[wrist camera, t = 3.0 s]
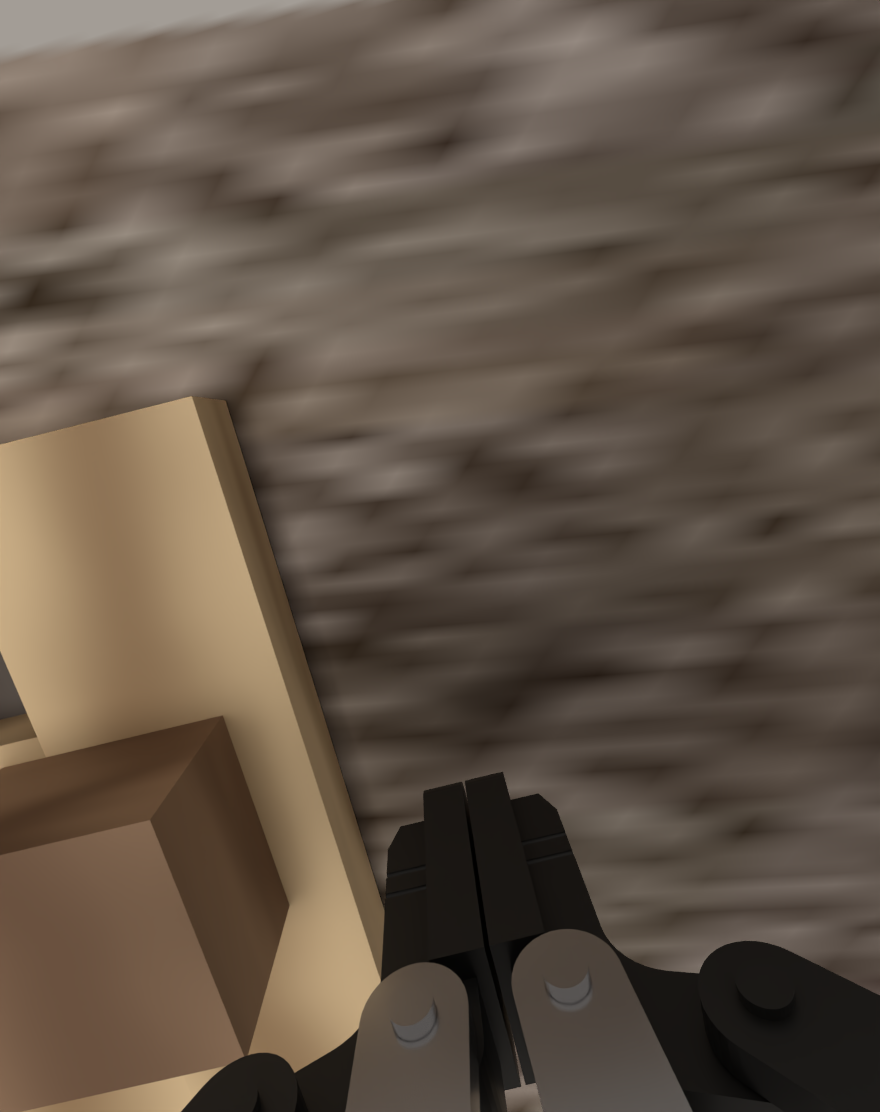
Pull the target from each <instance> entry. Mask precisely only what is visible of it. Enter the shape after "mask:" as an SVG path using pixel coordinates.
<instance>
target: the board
mask: <svg viewBox="0 0 880 1112" xmlns="http://www.w3.org/2000/svg"><path fill="white" fill-rule="evenodd" d="M222 715H223V718H224V720H225V723H226V726H227V729H228V732H229V735H230V737H231V740H232V743H233V746H234V749H235V752H236V754H237V757H238V760H239V763H240V766H241V769H242V771H243V774H244V777H245V780H246V783H247V786H248V788H249V791H250V794H251V797H252V800H253V803H254V805H255V808H256V811H257V814H258V817H259V820H260V823H261V825H262V828H263V831H264V834H265V837H266V840H267V842H268V845H269V848H270V851H271V854H272V857H273V859H274V862H275V865H276V868H277V871H278V874H279V876H280V879H281V882H282V885H283V888H284V891H285V893H286V896H287V899H288V902H289V905H290V906H289V910H288V913H287V917H286V921H285V924H284V928H283V931H282V935H281V938H280V942H279V946H278V949H277V953H276V956H275V960H274V964H273V967H272V971H271V974H270V978H269V982H268V985H267V989H266V992H265V996H264V999H263V1003H262V1007H261V1010H260V1014H259V1017H258V1021H257V1025H256V1028H255V1032H254V1035H253V1039H252V1042H251V1046H250V1050H249V1053H248V1055H250V1054H255V1053H272V1054H276V1055H278V1056H280V1057H282V1058H284V1059H285V1060H286V1061H287V1062H288V1063H289V1064H290V1066H291V1067H292V1069H293V1071H294V1073H295V1072H297V1071H298V1070H300V1069H302V1068H303V1067H305V1066H307V1065H309V1064H310V1063H312V1062H314V1061H315V1060H317V1059H319V1058H320V1057H322V1056H324V1055H325V1054H327V1053H329V1052H331V1051H332V1050H334V1049H335V1048H337V1047H338V1046H340V1045H341V1044H342V1043H344V1042H345V1041H346V1040H347V1039H348V1038H350V1037H351V1036H352V1035H353V1034H354V1033H355V1032H356V1030H357V1029H358V1028H359V1023H360V1018H361V1014H362V1011H363V1009H364V1006H365V1004H366V1002H367V1000H368V998H369V997H370V995H371V993H372V992H373V991H374V990H375V988H376V987H377V986H378V985H379V984H380V982H381V968H382V950H383V932H384V914H385V911H384V908H383V904H382V901H381V898H380V895H379V892H378V888H377V885H376V882H375V879H374V875H373V872H372V869H371V866H370V863H369V859H368V856H367V853H366V850H365V847H364V843H363V840H362V837H361V834H360V831H359V827H358V824H357V821H356V818H355V815H354V811H353V808H352V805H351V802H350V798H349V795H348V792H347V789H346V786H345V782H344V779H343V776H342V773H341V770H340V766H339V763H338V760H337V757H336V754H335V750H334V747H333V744H332V741H331V738H330V734H329V731H328V728H327V725H326V721H325V718H324V715H323V712H322V709H321V705H320V702H319V699H318V696H317V693H316V689H315V686H314V683H313V680H312V677H311V673H310V670H309V667H308V664H307V661H306V657H305V654H304V651H303V648H302V644H301V641H300V638H299V635H298V632H297V628H296V625H295V622H294V619H293V616H292V612H291V609H290V606H289V603H288V600H287V596H286V593H285V590H284V587H283V583H282V580H281V577H280V574H279V571H278V567H277V564H276V561H275V558H274V555H273V551H272V548H271V545H270V542H269V539H268V535H267V532H266V529H265V526H264V523H263V519H262V516H261V513H260V510H259V506H258V503H257V500H256V497H255V494H254V490H253V487H252V484H251V481H250V478H249V474H248V471H247V468H246V465H245V462H244V458H243V455H242V452H241V449H240V446H239V442H238V439H237V436H236V433H235V429H234V426H233V423H232V420H231V417H230V413H229V410H228V407H227V404H226V401H224V400H217V399H209V398H201V397H194V396H191V397H187V398H183V399H179V400H175V401H171V402H167V403H163V404H159V405H155V406H151V407H147V408H143V409H139V410H135V411H131V412H127V413H123V414H119V415H115V416H112V417H108V418H104V419H100V420H96V421H92V422H88V423H84V424H80V425H76V426H72V427H68V428H64V429H60V430H56V431H52V432H48V433H44V434H40V435H36V436H32V437H28V438H24V439H20V440H16V441H12V442H8V443H5V444H1V445H0V769H1V768H4V767H8V766H12V765H16V764H21V763H25V762H29V761H33V760H37V759H42V758H46V757H50V756H54V755H58V754H63V753H67V752H71V751H75V750H79V749H84V748H88V747H92V746H96V745H100V744H104V743H109V742H113V741H117V740H121V739H125V738H130V737H134V736H138V735H142V734H146V733H151V732H155V731H159V730H163V729H167V728H172V727H176V726H180V725H184V724H188V723H192V722H197V721H201V720H205V719H209V718H213V717H218V716H222ZM224 1067H226V1066H224ZM224 1067H219V1068H215V1069H210V1070H206V1071H201V1072H197V1073H192V1074H188V1075H183V1076H179V1077H174V1078H170V1079H166V1080H161V1081H157V1082H152V1083H148V1084H143V1085H139V1086H134V1087H130V1088H125V1089H121V1090H116V1091H112V1092H107V1093H103V1094H98V1095H94V1096H90V1097H85V1098H81V1099H76V1100H72V1101H67V1102H63V1103H58V1104H54V1105H49V1106H45V1107H40V1108H36V1109H31V1110H27V1111H22V1112H181V1111H182V1110H183V1109H184V1108H185V1106H186V1105H187V1104H188V1103H189V1102H190V1101H191V1100H192V1098H193V1097H194V1096H195V1095H196V1094H197V1093H198V1091H199V1090H200V1089H201V1088H202V1087H203V1086H204V1085H205V1084H206V1083H207V1082H208V1081H209V1080H210V1079H211V1078H212V1077H213V1076H214V1075H215V1074H216V1073H218V1072H219V1071H220V1070H221V1069H223V1068H224Z"/></svg>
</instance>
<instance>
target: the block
mask: <svg viewBox="0 0 880 1112" xmlns="http://www.w3.org/2000/svg"><path fill="white" fill-rule="evenodd" d="M289 906H290V905H289V902H288V899H287V896H286V893H285V891H284V888H283V885H282V882H281V879H280V876H279V874H278V871H277V868H276V865H275V862H274V859H273V857H272V854H271V851H270V848H269V845H268V842H267V840H266V837H265V834H264V831H263V828H262V825H261V823H260V820H259V817H258V814H257V811H256V808H255V805H254V803H253V800H252V797H251V794H250V791H249V788H248V786H247V783H246V780H245V777H244V774H243V771H242V769H241V766H240V763H239V760H238V757H237V754H236V752H235V749H234V746H233V743H232V740H231V737H230V735H229V732H228V729H227V726H226V723H225V720H224V718H223V715H222V716H218V717H213V718H209V719H205V720H201V721H197V722H192V723H188V724H184V725H180V726H176V727H172V728H167V729H163V730H159V731H155V732H151V733H146V734H142V735H138V736H134V737H130V738H125V739H121V740H117V741H113V742H109V743H104V744H100V745H96V746H92V747H88V748H84V749H79V750H75V751H71V752H67V753H63V754H58V755H54V756H50V757H46V758H42V759H37V760H33V761H29V762H25V763H21V764H16V765H12V766H8V767H4V768H1V769H0V1112H22V1111H27V1110H31V1109H36V1108H40V1107H45V1106H49V1105H54V1104H58V1103H63V1102H67V1101H72V1100H76V1099H81V1098H85V1097H90V1096H94V1095H98V1094H103V1093H107V1092H112V1091H116V1090H121V1089H125V1088H130V1087H134V1086H139V1085H143V1084H148V1083H152V1082H157V1081H161V1080H166V1079H170V1078H174V1077H179V1076H183V1075H188V1074H192V1073H197V1072H201V1071H206V1070H210V1069H215V1068H219V1067H224V1066H227V1065H228V1064H230V1063H232V1062H234V1061H235V1060H237V1059H239V1058H242V1057H244V1056H247V1055H248V1053H249V1050H250V1046H251V1042H252V1039H253V1035H254V1032H255V1028H256V1025H257V1021H258V1017H259V1014H260V1010H261V1007H262V1003H263V999H264V996H265V992H266V989H267V985H268V982H269V978H270V974H271V971H272V967H273V964H274V960H275V956H276V953H277V949H278V946H279V942H280V938H281V935H282V931H283V928H284V924H285V921H286V917H287V913H288V910H289Z"/></svg>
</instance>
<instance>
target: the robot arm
mask: <svg viewBox="0 0 880 1112" xmlns="http://www.w3.org/2000/svg"><path fill="white" fill-rule="evenodd" d="M465 786H466V792H467V797H466V793H465V789H464V786H463V783H462V782H459V783H454V784H450V785H446V786H442V787H438V788H433V789H429V790H425V791H424V793H423V800H424V821H422V822H418V823H413V824H409V825H405V826H401V827H400V829H399V830H398V832H397V834H396V836H395V838H394V840H393V842H392V843H391V845H390V847H389V849H388V861H387V878H386V899H385V914H384V932H383V950H382V968H381V982H380V984H379V985H378V986H377V987H376V988H375V990H374V991H373V992H372V993H371V995H370V997H369V998H368V1000H367V1002H366V1004H365V1006H364V1009H363V1011H362V1014H361V1018H360V1023H359V1028H358V1029H357V1030H356V1032H355V1033H354V1034H353V1035H352V1036H351V1037H350V1038H348V1039H347V1040H346V1041H345V1042H344V1043H342V1044H341V1045H340V1046H338V1047H337V1048H335V1049H334V1050H332V1051H331V1052H329V1053H327V1054H325V1055H324V1056H322V1057H320V1058H319V1059H317V1060H315V1061H314V1062H312V1063H310V1064H309V1065H307V1066H305V1067H303V1068H302V1069H300V1070H298V1071H297V1072H295V1073H294V1071H293V1069H292V1067H291V1066H290V1064H289V1063H288V1062H287V1061H286V1060H285V1059H284V1058H282V1057H280V1056H278V1055H276V1054H272V1053H255V1054H250V1055H247V1056H244V1057H242V1058H239V1059H237V1060H235V1061H234V1062H232V1063H230V1064H228V1065H227V1066H226V1067H224V1068H223V1069H221V1070H220V1071H219V1072H218V1073H216V1074H215V1075H214V1076H213V1077H212V1078H211V1079H210V1080H209V1081H208V1082H207V1083H206V1084H205V1085H204V1086H203V1087H202V1088H201V1089H200V1090H199V1091H198V1093H197V1094H196V1095H195V1096H194V1097H193V1098H192V1100H191V1101H190V1102H189V1103H188V1104H187V1105H186V1106H185V1108H184V1109H183V1110H182V1111H181V1112H507V1107H506V1099H505V1092H504V1090H509V1089H513V1088H517V1087H521V1083H520V1077H519V1071H518V1064H517V1058H516V1052H515V1046H514V1041H515V1045H516V1049H517V1053H518V1057H519V1060H520V1064H521V1068H522V1072H523V1076H524V1079H525V1083H526V1085H528V1084H532V1083H536V1085H537V1089H538V1093H539V1097H540V1100H541V1104H542V1108H543V1112H880V996H879V995H877V994H875V993H873V992H871V991H869V990H867V989H865V988H863V987H861V986H859V985H857V984H855V983H853V982H851V981H849V980H847V979H845V978H843V977H841V976H839V975H837V974H835V973H833V972H831V971H829V970H827V969H825V968H823V967H821V966H819V965H817V964H815V963H813V962H811V961H809V960H807V959H805V958H803V957H801V956H798V955H796V954H794V953H792V952H790V951H788V950H786V949H783V948H781V947H779V946H775V945H772V944H768V943H763V942H757V941H741V942H734V943H730V944H727V945H724V946H722V947H720V948H718V949H716V950H715V951H714V952H713V953H711V954H710V955H709V956H708V958H707V959H706V960H705V961H704V963H703V965H702V967H701V969H700V973H699V974H697V973H686V972H674V971H664V970H658V969H653V968H650V967H646V966H644V965H641V964H639V963H637V962H634V961H633V960H631V959H629V958H628V957H626V956H624V955H623V954H622V953H621V952H619V951H618V950H617V949H616V948H615V947H614V946H613V945H612V944H611V943H610V942H609V940H608V939H607V937H606V936H605V934H604V932H603V930H602V928H601V926H600V923H599V920H598V918H597V915H596V912H595V910H594V907H593V904H592V902H591V899H590V896H589V894H588V891H587V888H586V886H585V883H584V881H583V878H582V875H581V873H580V870H579V867H578V865H577V862H576V859H575V857H574V854H573V852H572V849H571V846H570V843H569V841H568V838H567V835H566V834H565V830H564V828H563V825H562V822H561V820H560V817H559V814H558V812H557V809H556V808H555V807H553V806H552V805H551V804H550V803H549V802H548V801H546V800H545V799H544V798H543V797H542V796H541V795H539V794H534V795H530V796H526V797H522V798H518V799H513V800H510V797H509V793H508V789H507V786H506V782H505V778H504V774H503V772H500V773H496V774H491V775H487V776H483V777H479V778H475V779H470V780H466V781H465ZM467 799H468V801H467ZM513 1038H514V1040H513Z"/></svg>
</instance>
